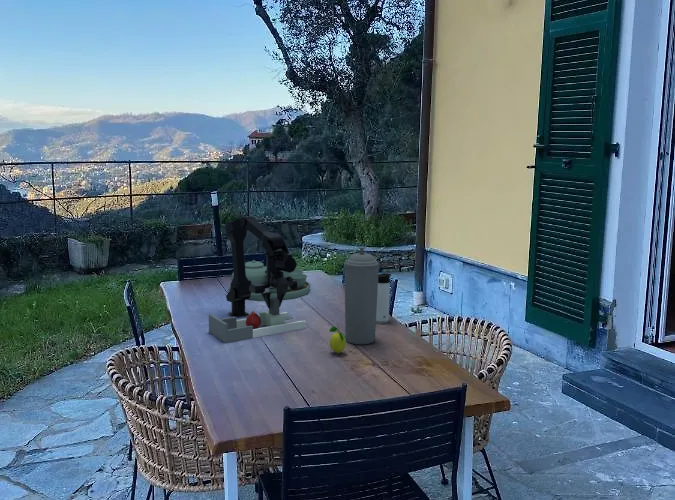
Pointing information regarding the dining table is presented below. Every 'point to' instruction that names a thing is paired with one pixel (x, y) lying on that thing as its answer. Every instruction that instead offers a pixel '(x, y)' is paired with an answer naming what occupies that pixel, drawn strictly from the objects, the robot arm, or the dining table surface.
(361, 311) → the canister
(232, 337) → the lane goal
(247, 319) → the onion
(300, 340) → the dining table surface
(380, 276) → the travel mug
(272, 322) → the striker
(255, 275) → the tea set
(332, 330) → the lemon
